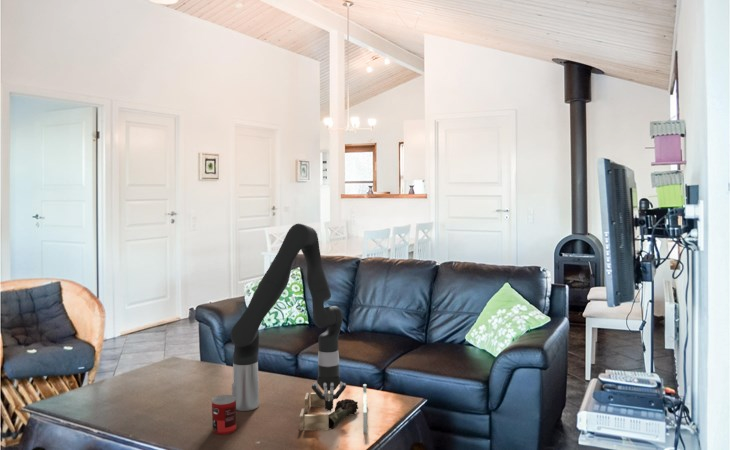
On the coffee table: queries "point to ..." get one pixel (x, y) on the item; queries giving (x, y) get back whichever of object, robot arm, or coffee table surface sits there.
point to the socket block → (315, 419)
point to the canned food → (224, 414)
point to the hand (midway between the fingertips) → (329, 409)
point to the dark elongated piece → (342, 411)
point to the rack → (364, 408)
